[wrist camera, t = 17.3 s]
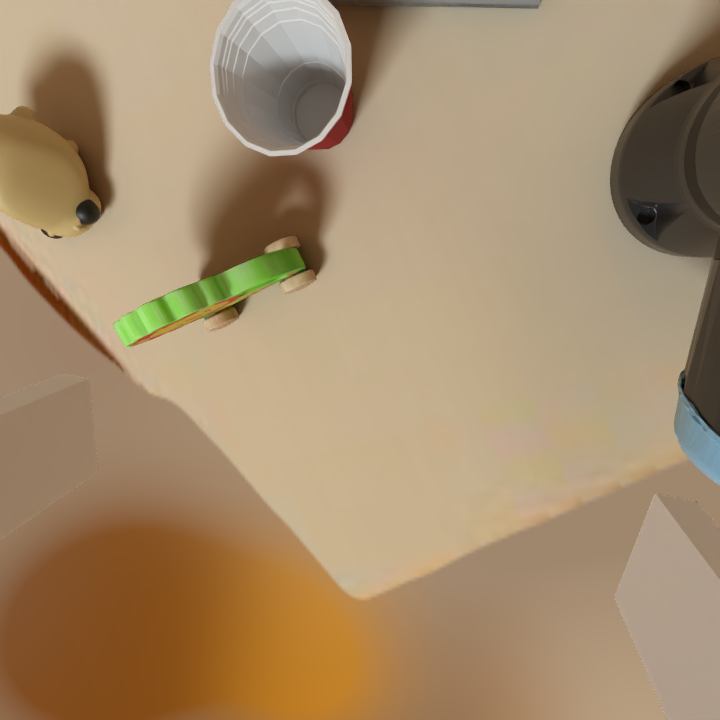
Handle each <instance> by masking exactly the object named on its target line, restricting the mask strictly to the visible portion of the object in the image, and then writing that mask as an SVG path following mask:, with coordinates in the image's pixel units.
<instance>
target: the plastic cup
mask: <svg viewBox="0 0 720 720" xmlns="http://www.w3.org/2000/svg"><path fill="white" fill-rule="evenodd" d="M209 65H210V75H211V85H212V96H213V99H214V101H215V103H216V106H217V108H218V110H219V112H220V115H221V117H222V119H223V122H224V124H225V126H226V127H227V128H228V129H229V130H230V131H231V132H232V133H233V134H234V135H235V136H236V137H237V138H238V139H239V140H240V141H241V142H242V143H243V144H244V146H246V147H248V148H251V149H253V150H256V151H258V152H260V153H263V154H265V155H268V156H284V155H297V154H299V153H301V152H303V151H305V150H306V149H307V150H309V149H330V148H332V147H333V146H335V145H337V144H339V143H341V141H342V140H343V139H344V138H345V137H346V135H347V134H348V133H349V130H350V127H351V125H352V122H353V93H352V87H351V85H352V57H351V43H350V41H349V38H348V35H347V33H346V30H345V27H344V25H343V22H342V19H341V17H340V14H339V12H338V11H337V10H336V8H335V7H334V6H333V5H332V4H331V3H330V2H329V1H328V0H235V1H233V3H232V4H231V6H230V8H229V10H228V11H227V13H226V15H225V16H224V18H223V20H222V21H221V23H220V25H219V26H218V28H217V30H216V34H215V39H214V43H213V48H212V53H211V58H210V63H209Z"/></svg>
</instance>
